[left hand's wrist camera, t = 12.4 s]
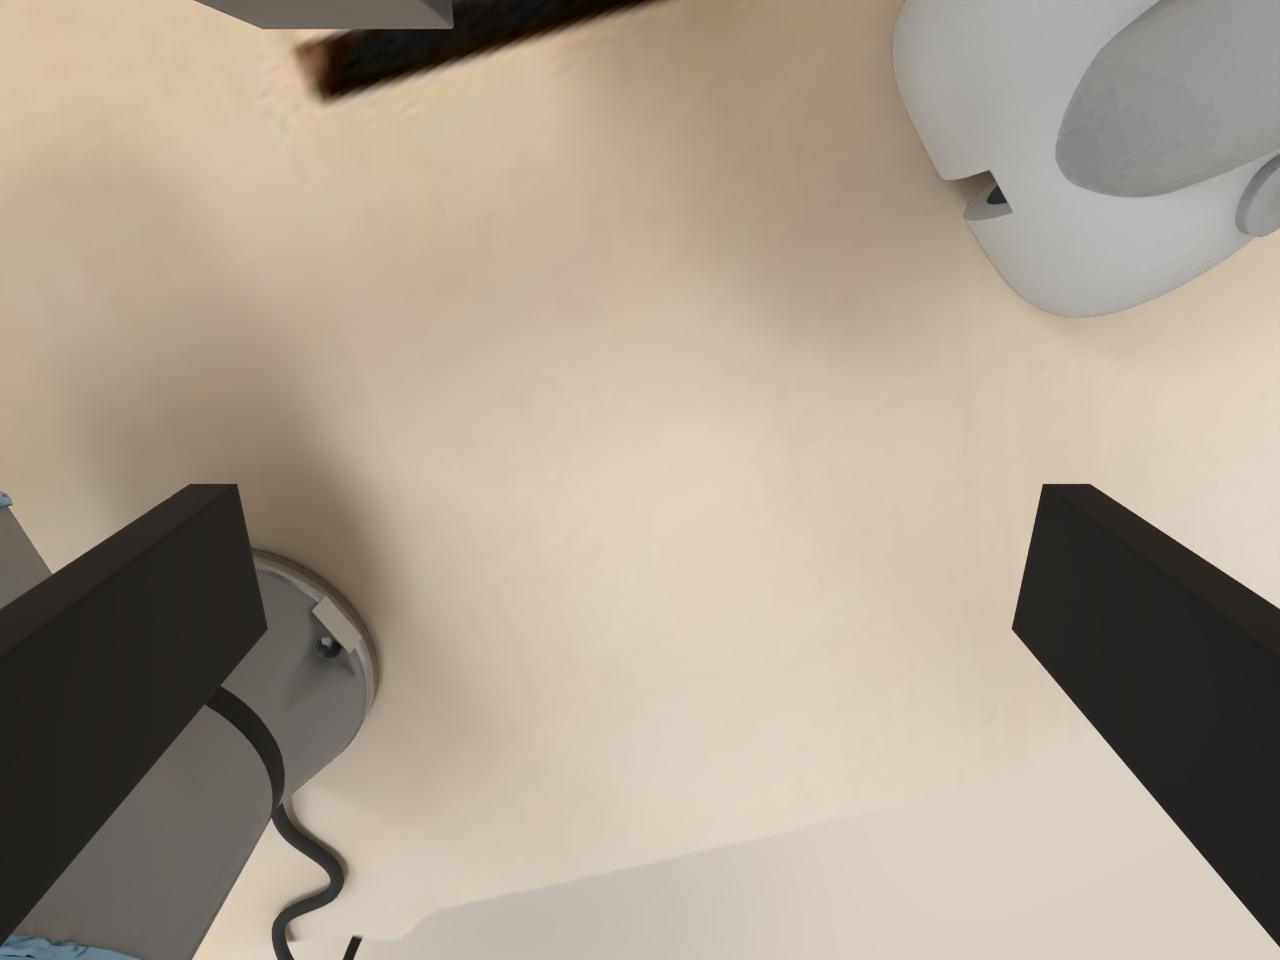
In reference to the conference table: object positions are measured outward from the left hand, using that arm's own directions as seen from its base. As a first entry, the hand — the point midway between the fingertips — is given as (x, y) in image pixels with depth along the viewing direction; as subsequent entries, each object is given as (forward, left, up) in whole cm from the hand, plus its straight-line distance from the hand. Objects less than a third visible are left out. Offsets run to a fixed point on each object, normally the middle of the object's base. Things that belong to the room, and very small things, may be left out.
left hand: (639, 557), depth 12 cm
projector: (+20, -16, -27) cm, 37 cm away
